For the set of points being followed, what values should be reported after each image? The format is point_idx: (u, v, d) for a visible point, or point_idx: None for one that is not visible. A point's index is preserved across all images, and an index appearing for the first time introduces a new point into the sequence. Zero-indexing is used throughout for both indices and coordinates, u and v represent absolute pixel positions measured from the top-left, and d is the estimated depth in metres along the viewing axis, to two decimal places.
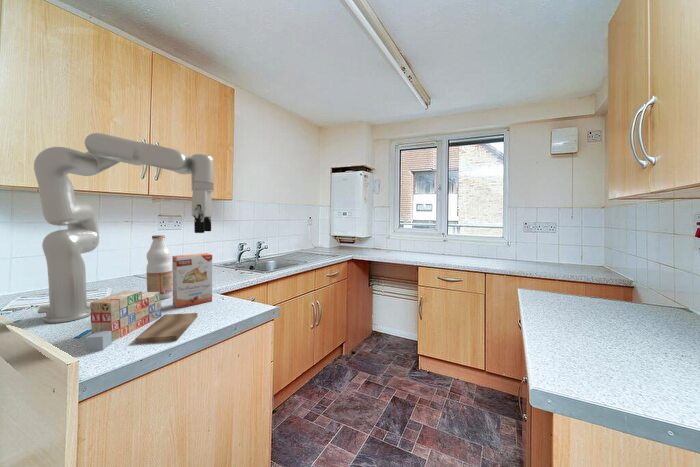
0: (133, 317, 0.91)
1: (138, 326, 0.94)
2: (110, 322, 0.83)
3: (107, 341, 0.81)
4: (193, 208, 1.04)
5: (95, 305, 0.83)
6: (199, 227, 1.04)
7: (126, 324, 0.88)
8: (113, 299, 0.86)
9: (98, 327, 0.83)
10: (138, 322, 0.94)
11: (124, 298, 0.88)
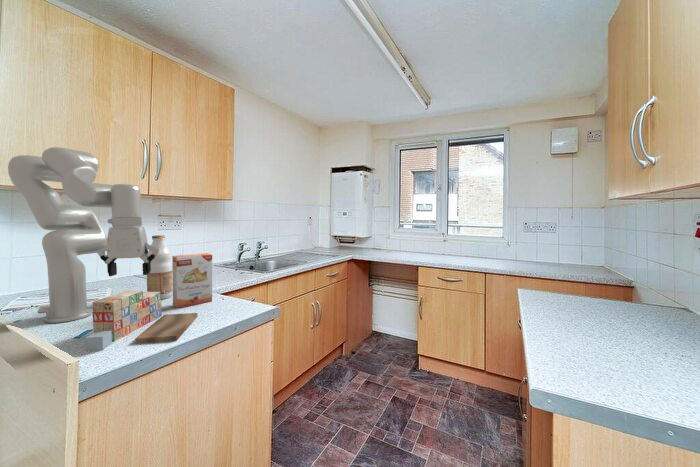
0: (135, 317, 0.92)
1: (139, 326, 0.94)
2: (112, 321, 0.83)
3: (107, 341, 0.81)
4: (143, 247, 0.91)
5: (97, 305, 0.83)
6: (149, 267, 0.94)
7: (127, 323, 0.89)
8: (115, 299, 0.86)
9: (100, 326, 0.84)
10: (139, 321, 0.94)
11: (126, 298, 0.88)
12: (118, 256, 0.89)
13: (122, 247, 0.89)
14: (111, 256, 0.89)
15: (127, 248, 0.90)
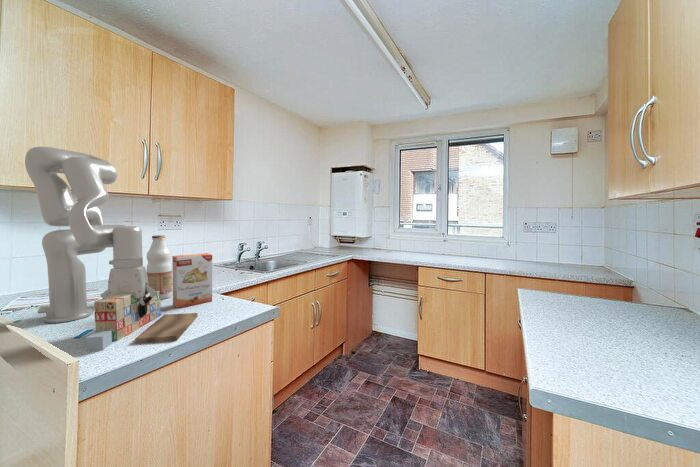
0: (136, 316, 0.92)
1: (140, 325, 0.94)
2: (115, 321, 0.84)
3: (107, 341, 0.81)
4: (143, 288, 0.92)
5: (99, 304, 0.83)
6: (146, 309, 0.95)
7: (129, 322, 0.89)
8: (117, 298, 0.86)
9: (103, 325, 0.84)
10: (140, 320, 0.94)
11: (128, 297, 0.88)
12: None
13: (123, 289, 0.90)
14: None
15: (128, 290, 0.91)
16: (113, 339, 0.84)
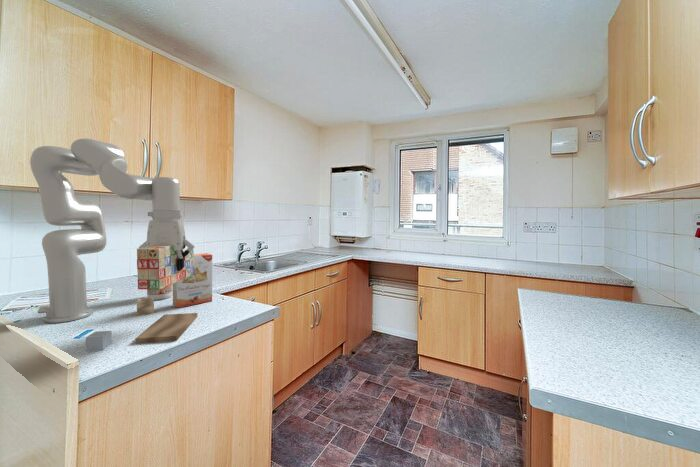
0: (174, 268, 0.91)
1: (178, 279, 0.93)
2: (158, 269, 0.83)
3: (107, 341, 0.81)
4: (182, 241, 0.91)
5: (142, 251, 0.82)
6: (183, 263, 0.94)
7: (169, 273, 0.88)
8: (158, 247, 0.85)
9: (145, 273, 0.83)
10: (178, 274, 0.93)
11: (168, 247, 0.87)
12: None
13: (162, 240, 0.89)
14: None
15: (167, 241, 0.89)
16: (155, 288, 0.83)
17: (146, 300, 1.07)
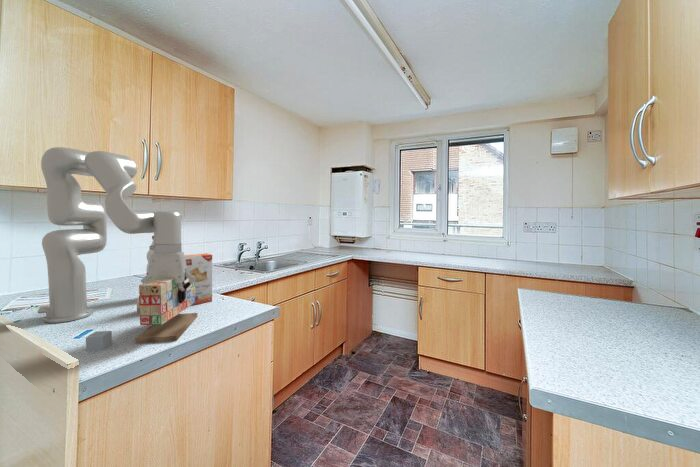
0: (176, 301, 0.92)
1: (179, 310, 0.94)
2: (160, 305, 0.83)
3: (107, 341, 0.81)
4: (183, 274, 0.92)
5: (144, 288, 0.83)
6: (185, 295, 0.94)
7: (171, 307, 0.89)
8: (160, 282, 0.86)
9: (147, 309, 0.83)
10: (179, 306, 0.94)
11: (170, 281, 0.88)
12: None
13: (164, 274, 0.90)
14: None
15: (168, 275, 0.90)
16: (157, 324, 0.84)
17: None
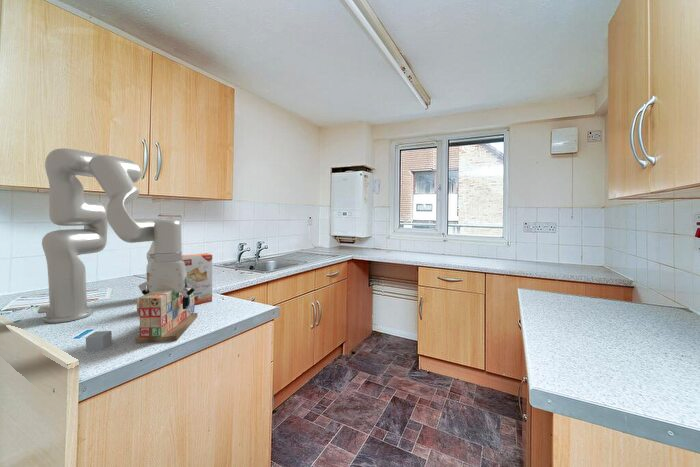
0: (175, 312, 0.92)
1: (179, 321, 0.94)
2: (160, 317, 0.84)
3: (107, 341, 0.81)
4: (183, 282, 0.92)
5: (144, 300, 0.83)
6: (188, 301, 0.95)
7: (170, 318, 0.89)
8: (160, 294, 0.86)
9: (147, 322, 0.84)
10: (179, 317, 0.94)
11: (169, 293, 0.88)
12: None
13: (164, 282, 0.90)
14: None
15: (169, 283, 0.90)
16: (157, 335, 0.84)
17: None
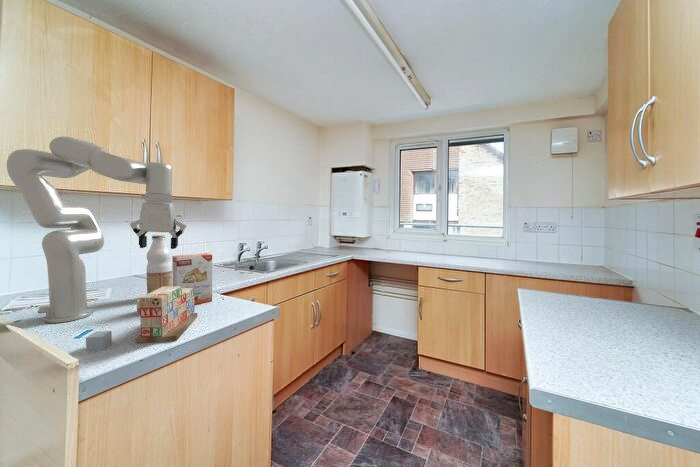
0: (176, 312, 0.92)
1: (179, 321, 0.94)
2: (161, 316, 0.84)
3: (107, 341, 0.81)
4: (172, 223, 0.98)
5: (145, 300, 0.83)
6: (177, 242, 1.00)
7: (171, 318, 0.89)
8: (161, 294, 0.86)
9: (148, 321, 0.84)
10: (179, 317, 0.94)
11: (170, 293, 0.88)
12: (149, 229, 0.96)
13: (153, 221, 0.96)
14: (143, 229, 0.95)
15: (158, 222, 0.96)
16: (158, 335, 0.84)
17: None
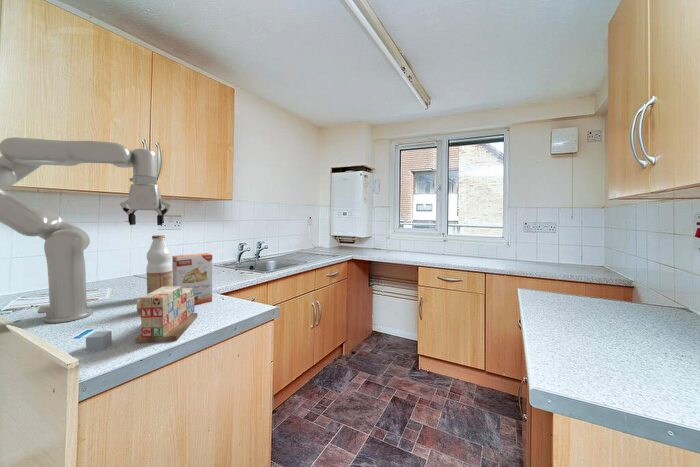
0: (176, 312, 0.92)
1: (179, 321, 0.95)
2: (161, 316, 0.84)
3: (107, 341, 0.81)
4: (157, 202, 1.11)
5: (146, 300, 0.83)
6: (162, 220, 1.14)
7: (172, 318, 0.89)
8: (161, 294, 0.86)
9: (148, 321, 0.84)
10: (180, 317, 0.95)
11: (171, 293, 0.88)
12: (137, 207, 1.09)
13: (141, 201, 1.09)
14: (132, 208, 1.08)
15: (145, 202, 1.09)
16: (158, 335, 0.84)
17: None
